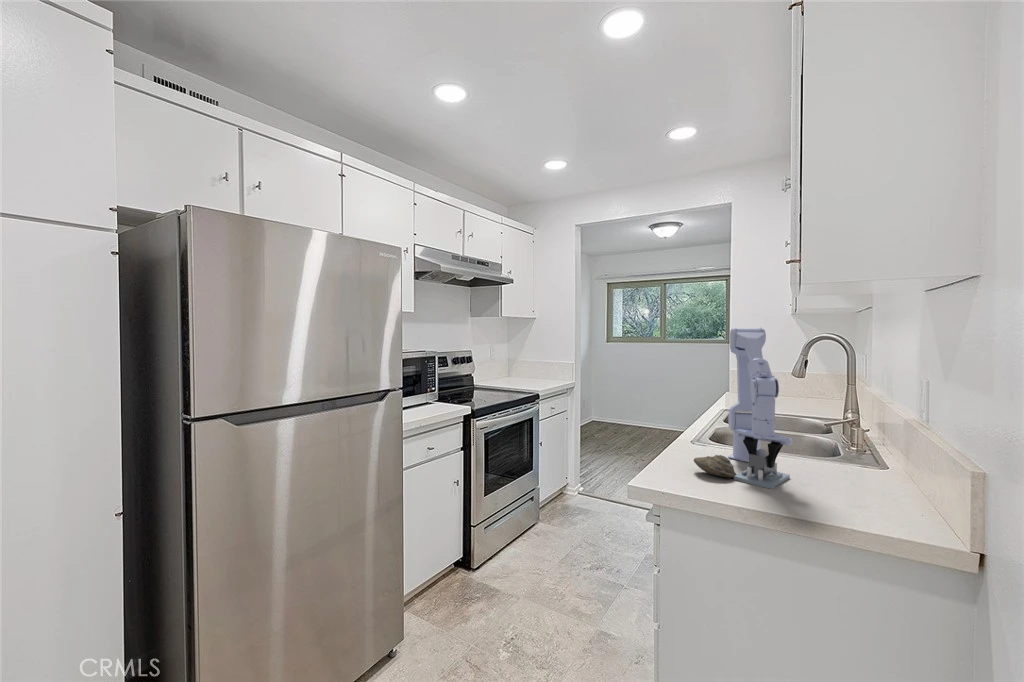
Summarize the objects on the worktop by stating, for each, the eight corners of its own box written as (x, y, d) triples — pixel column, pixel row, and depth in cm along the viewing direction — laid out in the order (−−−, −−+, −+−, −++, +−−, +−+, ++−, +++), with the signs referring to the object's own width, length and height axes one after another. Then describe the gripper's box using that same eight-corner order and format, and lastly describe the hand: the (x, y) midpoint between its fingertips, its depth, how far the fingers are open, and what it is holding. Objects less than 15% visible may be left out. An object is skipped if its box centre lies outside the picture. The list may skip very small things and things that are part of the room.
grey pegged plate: (753, 469, 137) (753, 456, 137) (789, 478, 130) (789, 464, 130) (733, 479, 128) (734, 465, 128) (771, 489, 121) (772, 474, 120)
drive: (759, 467, 133) (759, 448, 133) (774, 470, 130) (775, 452, 130) (748, 472, 128) (748, 453, 127) (764, 476, 124) (764, 457, 124)
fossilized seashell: (728, 477, 125) (722, 452, 127) (692, 482, 131) (686, 458, 134) (741, 476, 132) (735, 452, 134) (706, 480, 139) (701, 457, 141)
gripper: (731, 416, 131) (730, 461, 132) (786, 425, 120) (785, 474, 121) (741, 413, 136) (740, 457, 136) (795, 421, 125) (794, 469, 125)
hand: (762, 465), depth 129 cm, fingers closed on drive, 4 cm apart
